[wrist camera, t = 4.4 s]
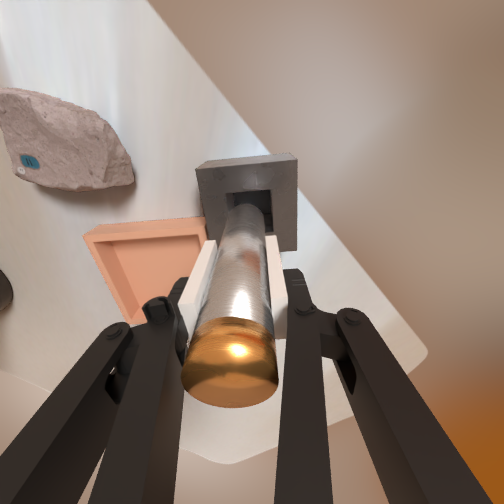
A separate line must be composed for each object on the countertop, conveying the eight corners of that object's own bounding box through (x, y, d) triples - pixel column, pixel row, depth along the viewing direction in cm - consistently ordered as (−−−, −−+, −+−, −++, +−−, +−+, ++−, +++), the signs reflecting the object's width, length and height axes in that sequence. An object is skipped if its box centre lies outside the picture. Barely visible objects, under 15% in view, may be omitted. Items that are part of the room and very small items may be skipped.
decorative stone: (38, 175, 29) (-9, 186, 24) (13, 86, 24) (-52, 75, 19) (143, 194, 30) (119, 208, 25) (138, 112, 25) (108, 109, 20)
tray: (137, 308, 40) (127, 324, 36) (99, 224, 32) (82, 235, 29) (227, 303, 39) (224, 319, 35) (209, 215, 31) (204, 226, 28)
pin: (230, 238, 23) (192, 409, 9) (225, 205, 21) (168, 353, 7) (265, 236, 23) (280, 406, 9) (262, 201, 21) (276, 347, 7)
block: (220, 235, 32) (213, 256, 27) (207, 160, 27) (195, 169, 22) (290, 229, 31) (297, 250, 26) (289, 152, 27) (297, 159, 21)
